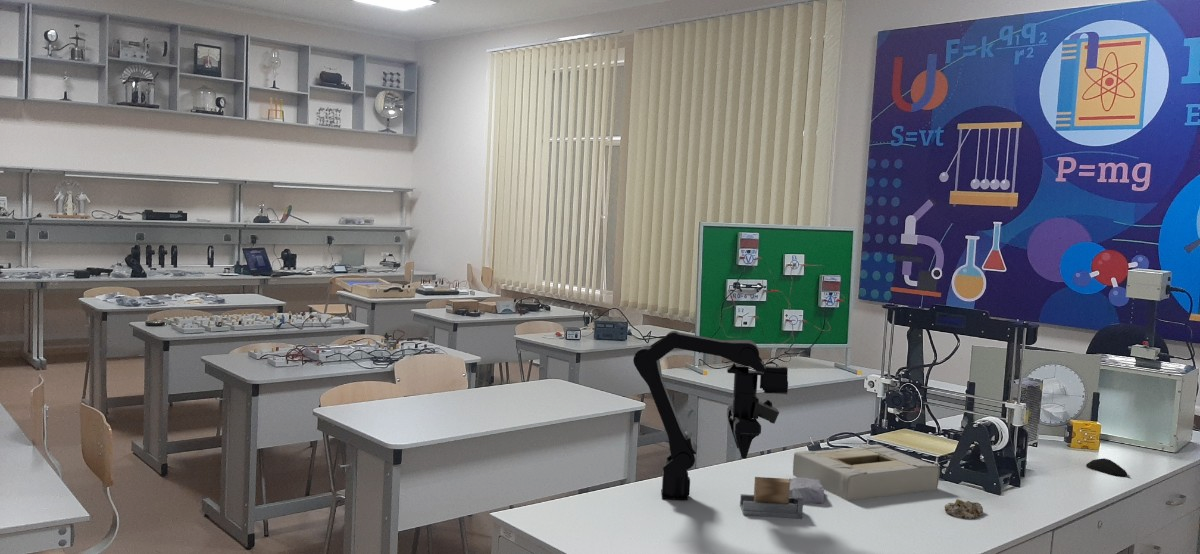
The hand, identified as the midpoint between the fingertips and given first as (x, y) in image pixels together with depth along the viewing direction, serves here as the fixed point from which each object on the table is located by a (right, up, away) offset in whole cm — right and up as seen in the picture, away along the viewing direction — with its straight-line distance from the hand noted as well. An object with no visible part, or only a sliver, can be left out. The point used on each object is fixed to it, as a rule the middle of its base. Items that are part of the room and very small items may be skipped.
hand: (741, 453), depth 218 cm
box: (+37, -13, +23) cm, 46 cm away
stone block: (+17, -13, +9) cm, 23 cm away
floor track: (+6, -13, -5) cm, 16 cm away
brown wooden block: (+6, -12, -5) cm, 15 cm away
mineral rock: (+56, -16, 0) cm, 58 cm away
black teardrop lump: (+118, -15, +45) cm, 127 cm away
